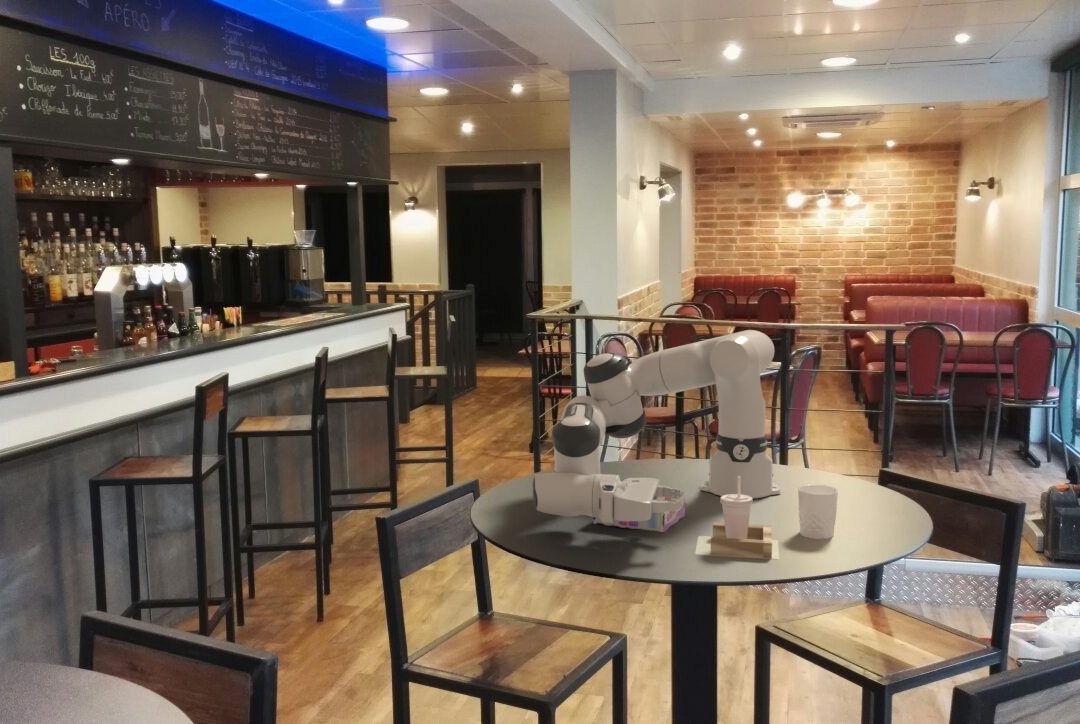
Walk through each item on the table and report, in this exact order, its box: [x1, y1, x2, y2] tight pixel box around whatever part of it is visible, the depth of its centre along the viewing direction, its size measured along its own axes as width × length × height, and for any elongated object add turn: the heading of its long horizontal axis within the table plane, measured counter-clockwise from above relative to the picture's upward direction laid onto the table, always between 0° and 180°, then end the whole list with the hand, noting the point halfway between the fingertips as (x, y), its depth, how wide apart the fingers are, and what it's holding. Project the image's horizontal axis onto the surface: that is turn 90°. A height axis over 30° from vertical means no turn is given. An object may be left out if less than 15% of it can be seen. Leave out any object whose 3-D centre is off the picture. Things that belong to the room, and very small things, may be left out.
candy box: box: [592, 491, 686, 533], centre depth 219 cm, size 14×6×16 cm
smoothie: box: [719, 476, 754, 539], centre depth 199 cm, size 6×6×14 cm
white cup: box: [797, 484, 839, 540], centre depth 207 cm, size 8×8×10 cm
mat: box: [694, 535, 780, 560], centre depth 199 cm, size 12×16×1 cm
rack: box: [710, 522, 773, 559], centre depth 199 cm, size 12×12×3 cm
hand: (678, 499), depth 200 cm, fingers open, 8 cm apart
